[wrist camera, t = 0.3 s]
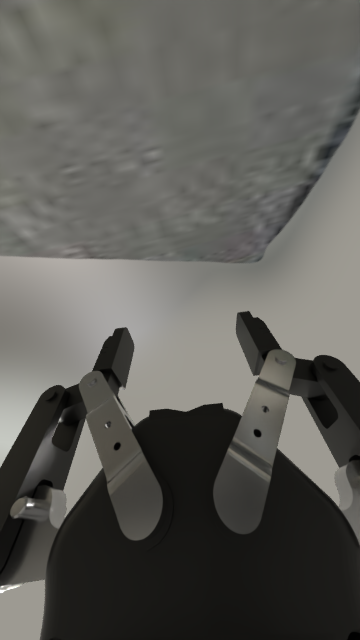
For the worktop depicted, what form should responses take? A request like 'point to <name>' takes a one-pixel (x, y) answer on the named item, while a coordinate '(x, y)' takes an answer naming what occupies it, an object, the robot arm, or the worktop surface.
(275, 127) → the worktop surface
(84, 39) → the worktop surface
